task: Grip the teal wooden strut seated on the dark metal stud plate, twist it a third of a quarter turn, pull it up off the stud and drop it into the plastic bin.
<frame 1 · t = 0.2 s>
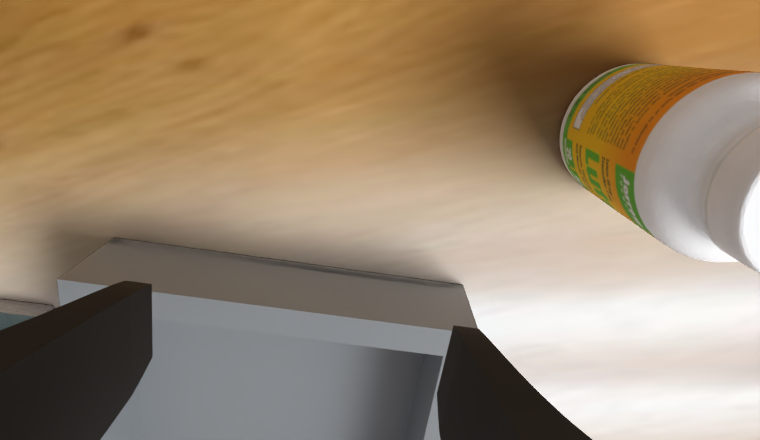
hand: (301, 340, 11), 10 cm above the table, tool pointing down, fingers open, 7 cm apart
bin: (278, 400, 24), on the table
supplement bottle: (619, 130, 20), on the table
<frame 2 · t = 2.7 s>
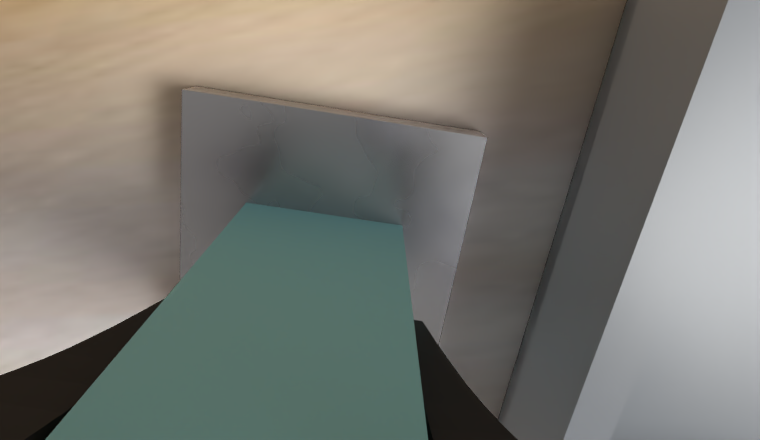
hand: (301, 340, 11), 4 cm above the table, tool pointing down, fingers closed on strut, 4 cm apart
strut: (316, 283, 14), point 1 cm above the table, touching gripper, stud plate
stud plate: (320, 268, 15), on the table
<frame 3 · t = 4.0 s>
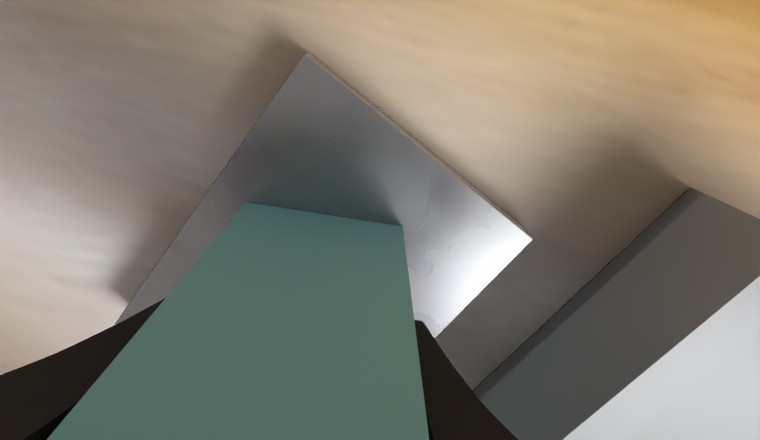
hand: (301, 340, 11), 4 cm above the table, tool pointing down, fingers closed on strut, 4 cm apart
strut: (316, 283, 14), point 1 cm above the table, touching gripper
stud plate: (320, 268, 15), on the table
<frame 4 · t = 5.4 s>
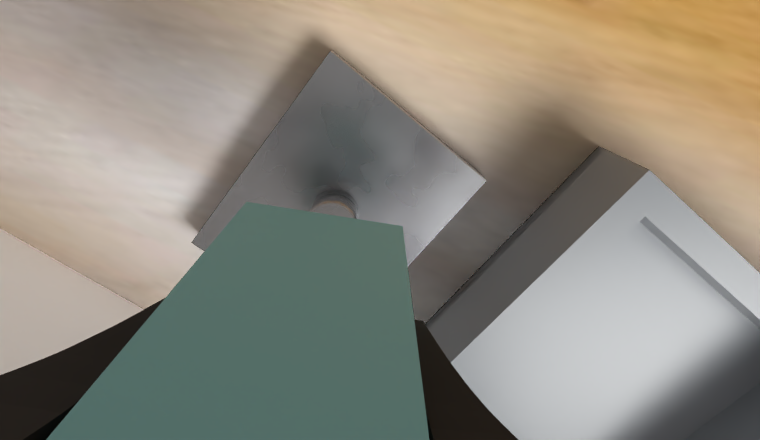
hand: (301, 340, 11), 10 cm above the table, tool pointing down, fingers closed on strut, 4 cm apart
bin: (586, 367, 24), on the table
milk: (35, 354, 24), on the table
strut: (316, 283, 14), point 7 cm above the table, touching gripper
stud plate: (337, 204, 21), on the table
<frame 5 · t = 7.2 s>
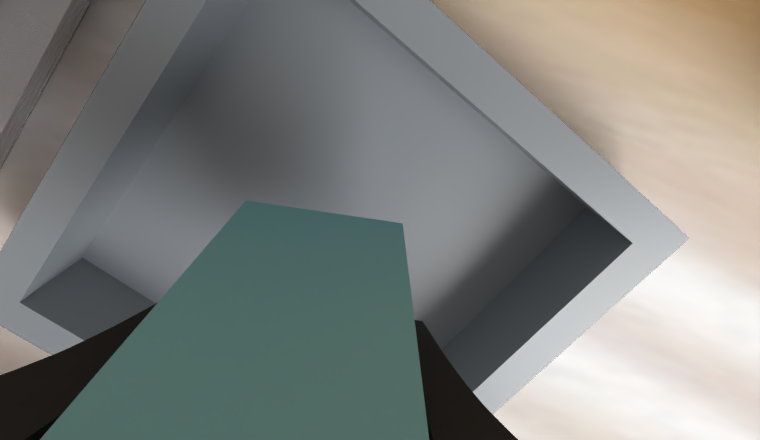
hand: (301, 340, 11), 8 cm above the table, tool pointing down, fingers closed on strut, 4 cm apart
bin: (331, 227, 18), on the table
strut: (316, 281, 14), point 5 cm above the table, touching gripper
when the fingers open (5 cm above the table, at t = 8.4 s): strut drops 2 cm, resting on bin.
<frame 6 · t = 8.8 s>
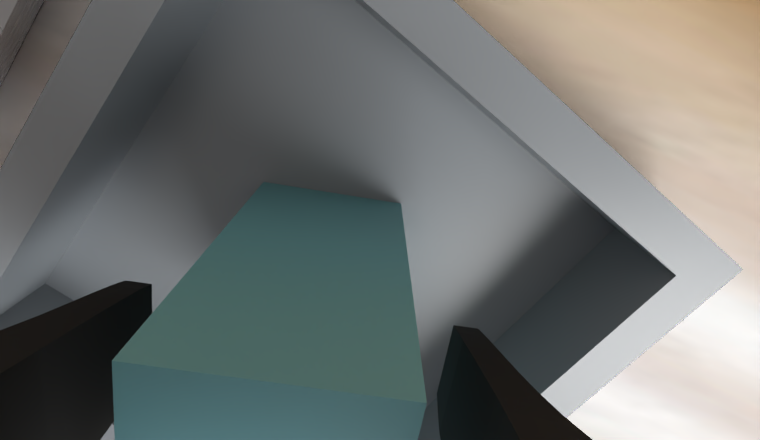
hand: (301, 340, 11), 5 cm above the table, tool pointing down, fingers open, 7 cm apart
bin: (325, 249, 16), on the table
strut: (324, 255, 16), point 1 cm above the table, touching bin
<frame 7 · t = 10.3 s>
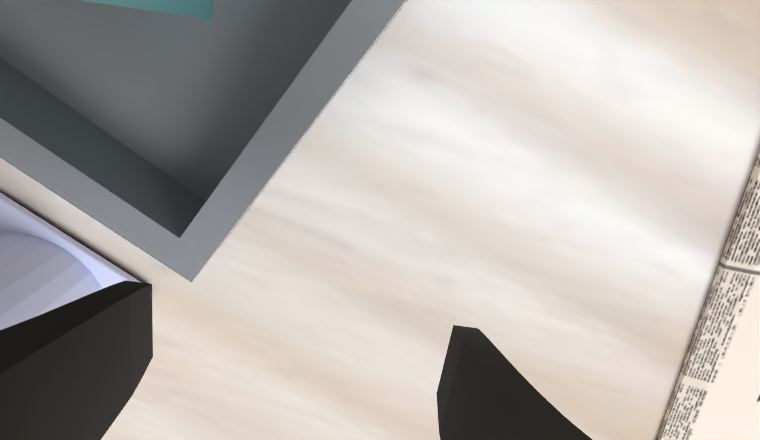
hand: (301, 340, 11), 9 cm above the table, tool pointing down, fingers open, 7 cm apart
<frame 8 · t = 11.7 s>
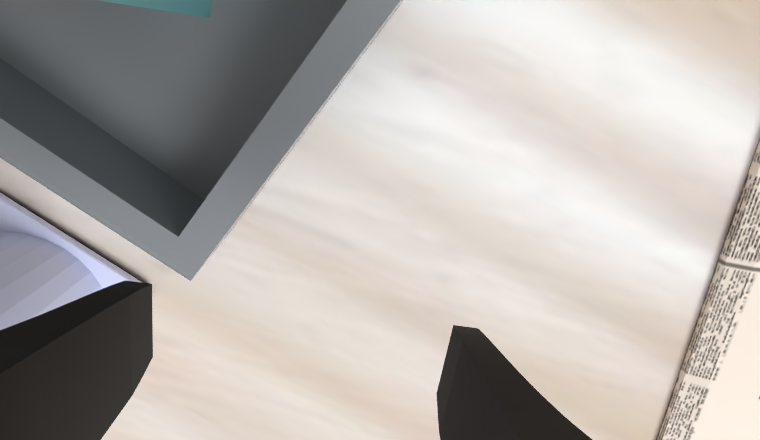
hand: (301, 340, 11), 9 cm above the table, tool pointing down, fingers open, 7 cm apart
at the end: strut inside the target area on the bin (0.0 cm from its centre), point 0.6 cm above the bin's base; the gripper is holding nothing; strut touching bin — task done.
